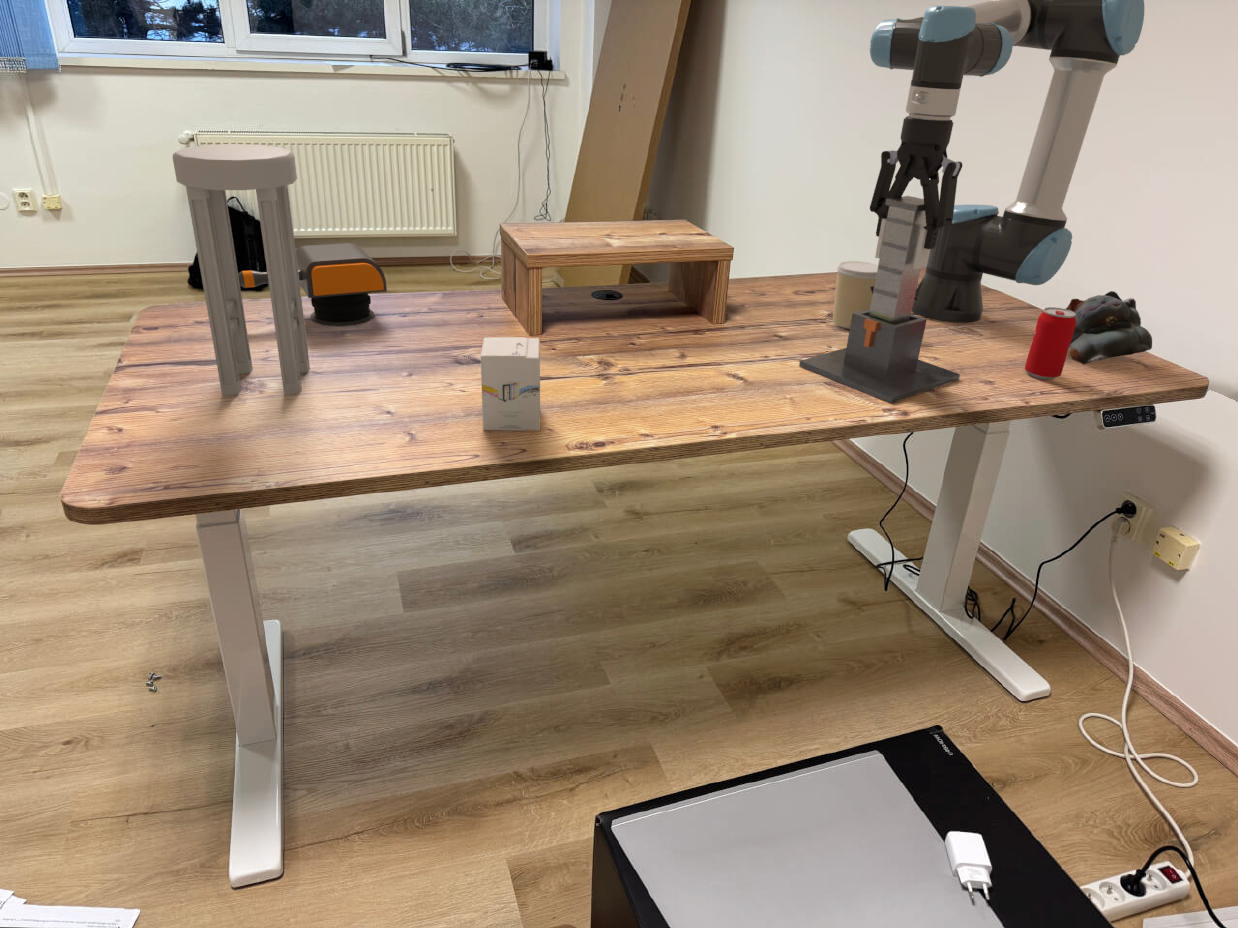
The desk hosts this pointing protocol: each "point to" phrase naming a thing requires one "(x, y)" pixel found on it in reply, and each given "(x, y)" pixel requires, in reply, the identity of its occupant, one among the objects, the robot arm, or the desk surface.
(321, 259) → the sander
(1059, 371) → the beverage can
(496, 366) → the ink box
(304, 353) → the stool
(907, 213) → the column
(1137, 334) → the lucky cat figurine
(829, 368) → the stand base
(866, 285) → the coffee cup
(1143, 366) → the desk surface
